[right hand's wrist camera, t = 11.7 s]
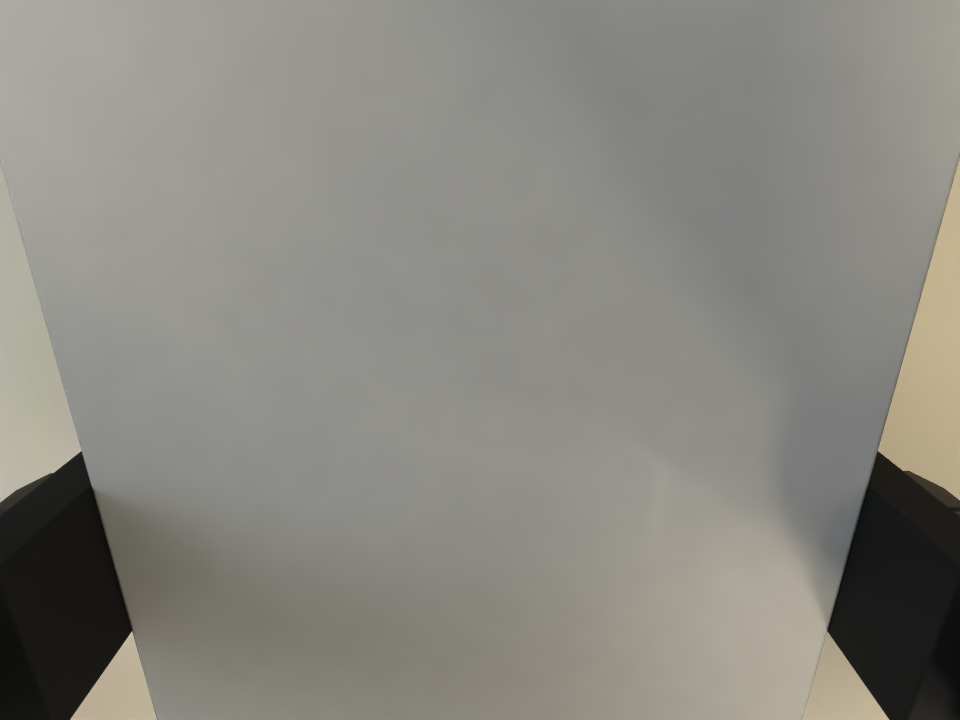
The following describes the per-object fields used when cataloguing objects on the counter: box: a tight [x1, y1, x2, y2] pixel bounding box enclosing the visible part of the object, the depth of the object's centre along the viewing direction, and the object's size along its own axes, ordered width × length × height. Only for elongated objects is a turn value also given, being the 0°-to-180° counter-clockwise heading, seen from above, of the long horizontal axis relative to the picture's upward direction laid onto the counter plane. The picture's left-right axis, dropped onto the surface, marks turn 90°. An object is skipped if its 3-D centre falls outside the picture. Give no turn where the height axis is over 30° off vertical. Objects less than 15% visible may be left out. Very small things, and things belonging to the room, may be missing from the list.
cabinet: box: [0, 0, 960, 720], centre depth 12 cm, size 17×11×9 cm, turn 0°
